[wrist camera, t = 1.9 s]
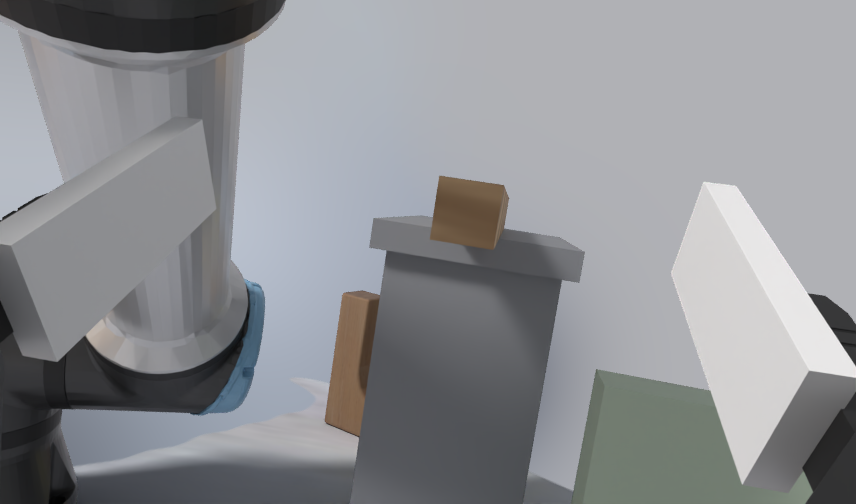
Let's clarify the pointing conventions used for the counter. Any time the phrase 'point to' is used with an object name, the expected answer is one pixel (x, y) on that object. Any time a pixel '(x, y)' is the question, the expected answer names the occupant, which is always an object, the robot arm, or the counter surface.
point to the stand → (457, 364)
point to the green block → (661, 449)
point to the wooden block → (352, 360)
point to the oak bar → (469, 212)
